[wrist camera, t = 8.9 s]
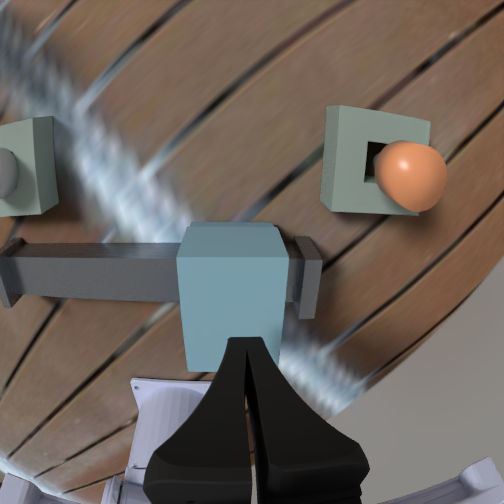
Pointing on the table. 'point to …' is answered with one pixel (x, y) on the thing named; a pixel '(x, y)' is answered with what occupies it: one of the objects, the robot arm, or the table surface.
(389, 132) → the green square holed block
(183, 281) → the block
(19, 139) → the green block white knob
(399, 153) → the orange round knob
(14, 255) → the rail
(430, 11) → the table surface
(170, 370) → the table surface
